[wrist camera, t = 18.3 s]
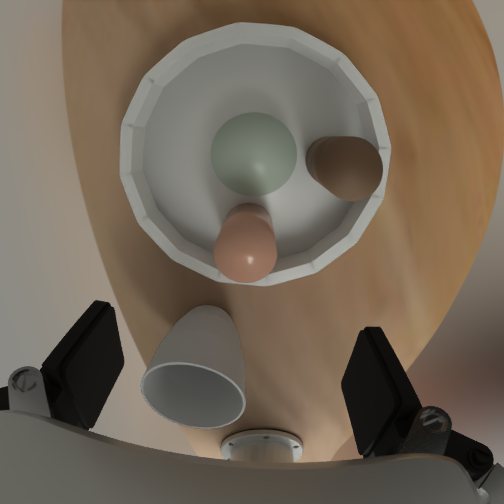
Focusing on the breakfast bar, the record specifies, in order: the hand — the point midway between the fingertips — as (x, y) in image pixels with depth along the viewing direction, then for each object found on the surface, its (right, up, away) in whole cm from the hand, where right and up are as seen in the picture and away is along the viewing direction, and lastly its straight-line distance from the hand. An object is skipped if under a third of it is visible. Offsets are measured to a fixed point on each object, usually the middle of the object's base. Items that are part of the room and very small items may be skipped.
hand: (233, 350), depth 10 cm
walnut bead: (+7, +11, +12) cm, 17 cm away
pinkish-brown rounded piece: (0, +6, +14) cm, 15 cm away
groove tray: (+1, +12, +13) cm, 17 cm away
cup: (-4, -4, +19) cm, 20 cm away
